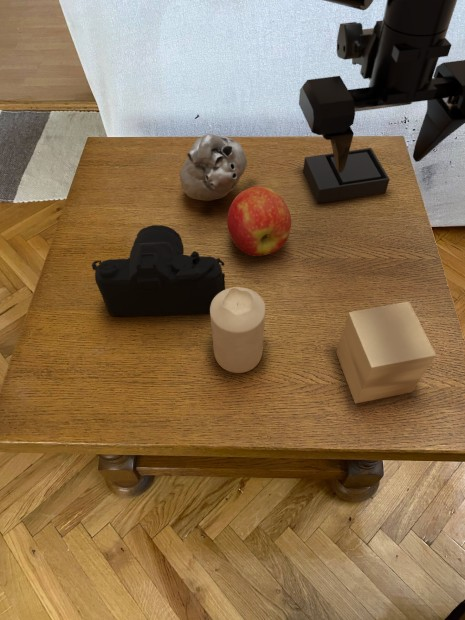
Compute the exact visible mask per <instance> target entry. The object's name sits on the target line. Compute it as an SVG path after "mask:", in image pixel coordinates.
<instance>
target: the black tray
mask: <svg viewBox="0 0 465 620" xmlns="http://www.w3.org/2000/svg"><path fill="white" fill-rule="evenodd" d="M363 152H367V153H368V155H369V156H370V158H371V160H372V162H373V163H374V165H375V167H376V168H377V170H378V172H379V174H380V175H381V178H380V179H378V180H372V181H365V182H359V183H352V184H345V185H339V183H338V181H337V179H336V177H335V175H334V173H333V171H332V169H331V167H330V165H329V164H330V158H331V157H334V154H333V152H331V153H326V154H319V155H311V156H305V157H304V161H303V170H302V172H303V174H304V176H305V178H306V181H307V183H308V186H309V188H310V190H311V193H312V195H313V197H314V200H315V201H316V204H322V203H329V202H335V201H341V200H347V199H356V198H362V197H368V196H374V195H381V194H386V192H387V189H388V185H389V182H390V178H389V175H388V174H387V172H386V170H385V168H384V167H383V165H382V164H381V162H380V160H379V158H378V157H377V155H376V153H375V151H374V149H373V148H372V147H367V148H360V149H351V150H349V154H348V155H350V154H357V153H363Z"/></svg>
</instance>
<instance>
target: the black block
mask: <svg viewBox="0 0 465 620" xmlns="http://www.w3.org/2000/svg"><path fill="white" fill-rule="evenodd" d="M329 165H330V167H331V169H332V171H333V173H334V175H335V177H336V179H337V181H338V183H339V185H345V184H352V183H359V182H365V181H372V180H378V179H380V178H381V175H380V174H379V172H378V170H377V168H376V167H375V165H374V163H373V162H372V160H371V158H370V156H369V155H368V153H367V152H363V153H357V154H350V155H348V158H347V162H346V165H345V168H344V170H343V172H342V173H339V172H338V170H337V168H336V164H335V159H334V157H331V158H330V164H329Z"/></svg>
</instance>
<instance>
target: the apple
mask: <svg viewBox="0 0 465 620" xmlns="http://www.w3.org/2000/svg"><path fill="white" fill-rule="evenodd" d="M292 222H293V221H292V215H291V212H290V209H289V207H288V204H287V203H286V201H285V200H284V198H283V197H282V196H281V195H280V194H279V193H277V192H276V191H275V190H273V189H271V188H269V187H264V186H251V187H249V188H246V189H244V190H242V191H241V192H239V194H237V195H236V196H235V198H234V199H233V201H232V203H231V204H230V206H229V209H228V212H227V218H226V223H227V230H228V234H229V235H230V238H231V240H232V242H233V243H234V245H235V246H236V247H237V248H238V249H239V251H241V252H243V253H244V254H246V255H249V256H251V257H258V256H259V257H261V256H266V255H270V254H273V253H275V252H278V251H279V250H280V249H281V248H282V247H283V246H284V245H285V244H286V242H287V241H288V238H289V236H290V234H291V232H292V231H291V230H292Z"/></svg>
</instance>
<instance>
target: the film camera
mask: <svg viewBox="0 0 465 620" xmlns="http://www.w3.org/2000/svg"><path fill="white" fill-rule="evenodd" d="M182 240H183V239H182V237H181V235H180V234H179V232H177V231H176V230H175V229H173V228H171V227H170V226H167V225H163V224H160V225H159V224H152V225H148V226H145V227H143V228H141V229H140V230H139V231H138V232H137V234H136V237H135V239H134V241H133V244H132V246H131V250H130V251H129V257H128V258H116V259H111V258H110V259H106V260H103V261H102V260H94V261H93V262H92V263H91V267H92V270H93V271H95V272H94V280H95V283H96V286H97V288H98V291H99V293H100V295H101V298H102V300H103V303H104V305H105V309H106V310H107V311H108V313H109V314H111V315H112V316H114V317H149V316H150V317H152V316H153V317H154V316H184V315H189V316H191V315H201V314H202V315H203V314H210V306H211V303H212V301H213V299H214V298H215V296H216V295H217V294H219V293H220V292H221V291H223V290H226V280H225V279H226V274H225V272H224V273H223V269H222V267H224V266H225V262H224V261H223V260H222V259H220V258H219V257H218V258H216V257H213V256H212V255H209V256H208V255H207V256H200V254H199V252H198V251H197V250H194V251H192V253H190V255H189V254H184V253H185V251H184V244H183V241H182ZM97 264H98V265H97Z"/></svg>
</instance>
